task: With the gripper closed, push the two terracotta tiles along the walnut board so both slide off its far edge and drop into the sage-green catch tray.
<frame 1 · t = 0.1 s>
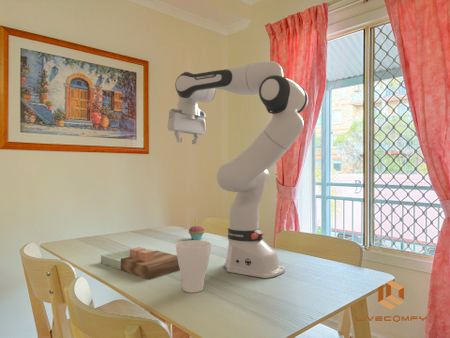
hand: (187, 143, 139), 48 cm above the table, fingers open, 8 cm apart
tile 1: (137, 257, 115), point 4 cm above the table, touching board
tray: (129, 261, 123), on the table
cupcake: (196, 240, 167), on the table
board: (152, 269, 114), on the table
cup: (193, 289, 95), on the table
tile 2: (146, 259, 112), point 4 cm above the table, touching board
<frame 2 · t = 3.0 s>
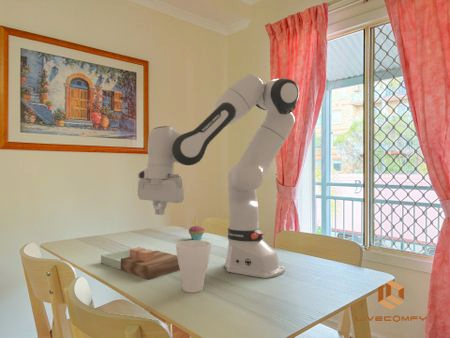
hand: (159, 214, 108), 21 cm above the table, fingers closed
nothing on the table moved.
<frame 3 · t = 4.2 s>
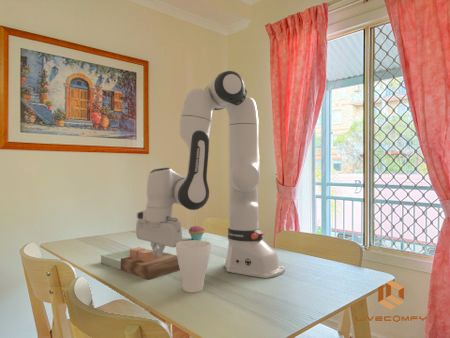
hand: (157, 256, 108), 6 cm above the table, fingers closed
nothing on the table moved.
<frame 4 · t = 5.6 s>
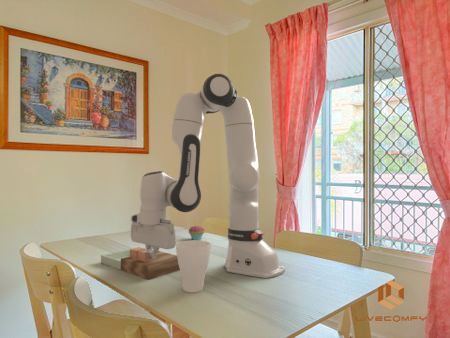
hand: (152, 258, 110), 5 cm above the table, fingers closed
tile 2: (146, 259, 112), point 4 cm above the table, touching board, gripper
everything else where it was.
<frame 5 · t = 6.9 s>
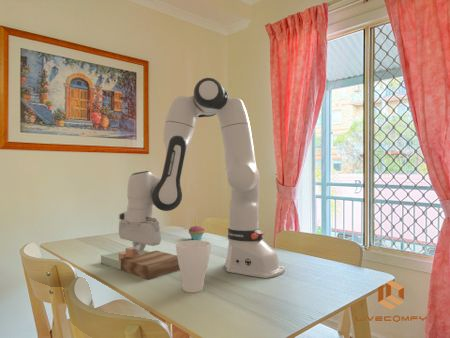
hand: (138, 254, 114), 5 cm above the table, fingers closed
tile 1: (128, 258, 119), point 2 cm above the table, tilted 90°, touching tray
tile 2: (133, 256, 117), point 4 cm above the table, touching gripper
everything else where it was.
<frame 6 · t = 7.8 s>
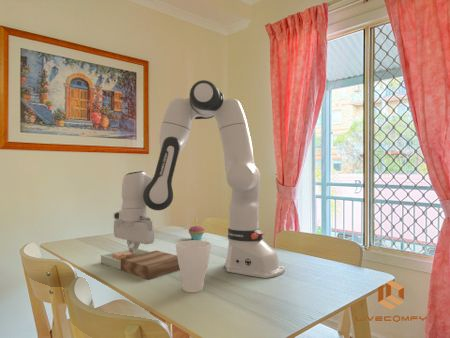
hand: (133, 252, 117), 5 cm above the table, fingers closed
tile 1: (120, 253, 122), point 3 cm above the table, tilted 180°, touching tray
tile 2: (125, 258, 119), point 2 cm above the table, tilted 90°, touching tray
everything else where it was.
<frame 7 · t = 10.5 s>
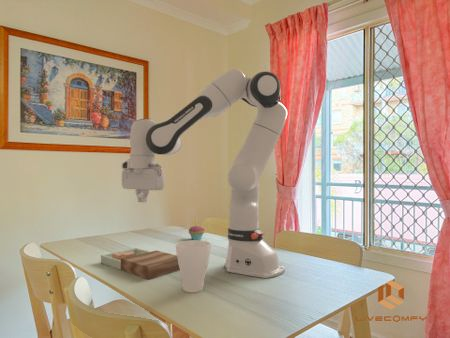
hand: (142, 202, 115), 24 cm above the table, fingers closed
nothing on the table moved.
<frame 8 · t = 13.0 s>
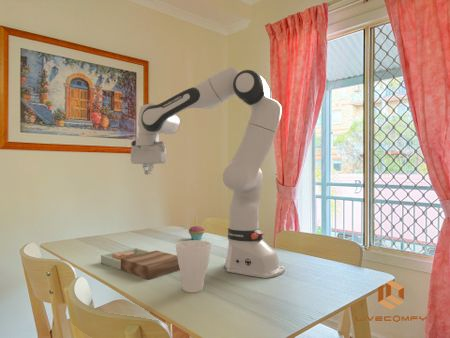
hand: (148, 174, 136), 34 cm above the table, fingers closed
nothing on the table moved.
at the end: tile 2 inside the target area (4.3 cm from its centre), point 2.5 cm above the table; tile 1 inside the target area (3.2 cm from its centre), point 3.5 cm above the table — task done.
